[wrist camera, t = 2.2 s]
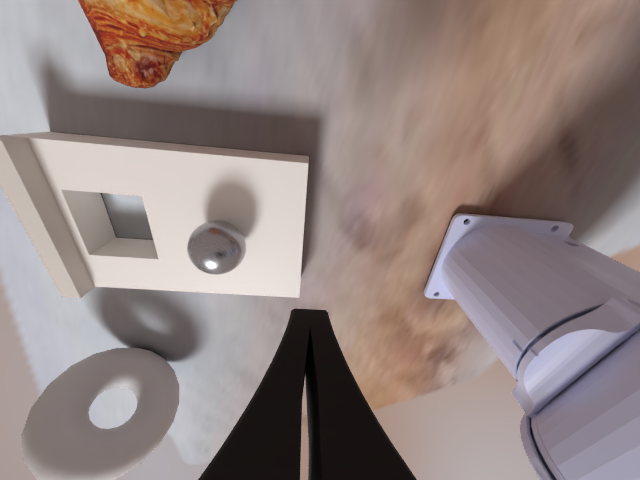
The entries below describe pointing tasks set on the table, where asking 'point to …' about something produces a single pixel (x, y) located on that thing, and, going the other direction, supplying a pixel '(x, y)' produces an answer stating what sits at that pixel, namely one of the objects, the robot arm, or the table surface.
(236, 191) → the board
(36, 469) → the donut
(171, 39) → the croissant
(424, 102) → the table surface
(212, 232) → the ball
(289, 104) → the table surface
